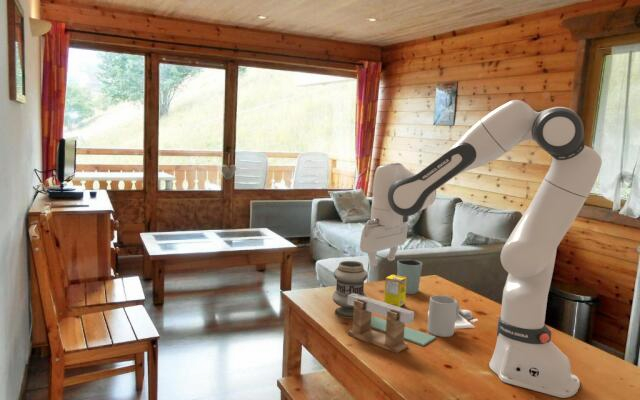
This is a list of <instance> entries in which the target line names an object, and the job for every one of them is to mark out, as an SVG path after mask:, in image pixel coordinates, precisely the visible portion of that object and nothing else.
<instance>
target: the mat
mask: <svg viewBox="0 0 640 400" xmlns="http://www.w3.org/2000/svg"><path fill="white" fill-rule="evenodd" d="M386 321H387V319H384V318H381V317H378V316H375V315H371V329H374V330H377V331H379V332H383V333H384V334H386ZM404 340H405V341H408V342H410V343H413V344H416V345H419V346H421V347H424V346H426V345H427V344H429V343H431V342H433V341H434V340H436V335H433V334H429V333H426V332H422V331H419V330H416V329H414V328H411V327H407V326H405V328H404Z"/></svg>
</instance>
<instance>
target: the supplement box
mask: <svg viewBox="0 0 640 400" xmlns="http://www.w3.org/2000/svg"><path fill="white" fill-rule="evenodd" d="M406 280H407V277H402V276H398V275H396V274H391V275H389V276H387V277H385V284H384V285H385V286H384V300H383V302H384V303H387V304H391V305H394V306H397V307H401V308H404V307H405V305H406Z"/></svg>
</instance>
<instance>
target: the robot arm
mask: <svg viewBox="0 0 640 400" xmlns="http://www.w3.org/2000/svg"><path fill="white" fill-rule="evenodd" d="M526 141H533V142H536V144H537V145H538V146H539V147H540V148H541V149H543V151H545V152H546V153H548V154H549V155H550V156H551V158H552V160H551V161H552V162H551V164H550V167H549V169H548V170H547V172H546V175H545V176H544V178H543V179H542V182H541V183H540V185H539V187H538V189H537V191H536V193H535V195H534V196H533V198H532V200H531V202H530V204H528V207H527V209H526V211H524V213H523V215H522V216H521V218H520V219H519V220H518V222H517V224H516V225H515V227H514V228H513V230H512V232H511V233H510V235H509V237H508V238H507V240H506V242H505V243H504V245H503V247H502V249H501V252H500V262H501V265H502V268H503V269H504V271H506V272H507V273H508V274H507V276H506V281H505V284H504V287H503V290H502V299H501V300H502V301H501V310H500V316H499V317H498V321H497V328H496V336H497V339H496V342H495V343H496V344H495V348H494V349H493V350H494V351H493V354H492V356H491V359H490V361H489V365H488V366H489V368H490V370H492V372H494V373H495V374H496V375H497V376H498V378H499V379H500V381H501V382H503V383H506V384H509V385H514V386H517V387H520V388H525V389H528V390H531V391H535V392H539V393H543V394H546V395H549V396H554V397H557V398H560V399H565V398H566V399H567V398H570V397H573V396H574V395H575V394H577V392H578V391H579V390H580V386H581V385H580V382H581V381H580V379H579V378H578V376H577V375H575V374H574V373H573V374H572V367H571V361H570V359H569V358H568V357H569V356H567V355H566V354H565V353H563V351H562V350H561V349H560V348H559V347H558V346H557V345H555V344H554V343H553V342H552V340H551V339H552V334H553V328H550V329H549V328H548V327H547V326H546V324H545V321H546V313H547V312H546V311H547V303H548V297H549V296H548V295H549V292H550V288H551V283H552V278H553V273H554V268H555V263H556V256H557V252H558V251H557V249H558V246H559V245H560V243H561V242H562V241H563V239H564V237H565V235H566V234H567V233H568V231H569V230H570V228H571V226H572V225H573V223H574V222H575V219H576V218H577V217H578V214H579V213H580V211H581V209H582V207H583V206H584V204H585V202H586V201H587V199H588V197H589V196H590V194H591V192H592V190H593V188H594V185H595V184H596V182H597V179H598V176H599V173H600V170H601V167H602V158H601V155H599V153H598V152H597V151H596V150H595V149H593V148H591V147H589V146H587V145H585V128H584V123H583V120H582V118H581V117H580V116H579V115H578V113H576V112H575V110H572V109H571V108H568V107H564V106H554V107H549V108H546V109H541V110H534V109H533V108H532V107H531V105H529V104H528V103H527V102H524V101H523V100H520V99H511V100H510V101H508V102H506V103H504V104H502V105H500V106H498V107H497V108H495V109H493V110H492V111H490V112H489V113H487V114H486V115H485V116H483V117H482V118H480V119H479V120H478V121H477V122H476V123H474V124H473V125H472V126H471V127H470V128H468V129H467V131H465V132H464V134H463V135H461V137H460V138H459V139H458V140H457V141H456V142H455V143H454V144H453V145H452V146H451V147H450V148H449V149H448V150H446V152H444V153H443V154H442V155H441V156H440V157H438V158H437V159H436V160H434V161H433V162H431V163H430V164H428V166H426V167H424V168H422V170H420V171H419V172H418V173H414V172H412V171H411V170H409V169H408V168H406V167H405V166H404V165H403V164H402V163H400V162H394V163H384V164H380V165H379V166H377V168H376V169H375V172H374V176H373V182H372V184H373V185H372V196H373V197H372V198H373V199H372V203H371V210H370V211H371V212H370V220H368V221H367V222H366V224H364V226H363V229H362V231H361V236H360V243H359V250H360V251H361V252H362V253H366V254H367V256H368V259H369V266H370V267H377V266H378V261H379V260H378V259H377V257H376V256H377V255H378V254H377V253H378V252H380V251H384V250H388V249H389V253H388V254H387V258H386V259H387V261H390V262H392V261H395V259H396V254H397V251H398V249H399V246H402V245H403V246H404V245H405V243H406V241H407V236H408V223H409V221H410V216H414V215H416V214H417V213H419V212H421V211H423V210H425V209H427V208H428V207H430V206H431V205H432V204H433V203H434V202H435V200H436V197H437V190H438V189H439V188H441V187H442V186H444V185H445V184H446V183H447V182H449V181H450V180H452V179H453V178H455V177H456V176H458V175H460V174H462V173H464V172H468V171H469V170H474V169H478V168H481V167H483V166H486V165H488V164H490V163H492V162H494V161H495V160H498V159H499V158H501V157H503V156H504V155H505V154H507V153H508V152H509V151H511V150H512V149H513V148H515V147H516V146H518V145H519V144H521V143H524V142H526ZM578 389H579V390H578Z"/></svg>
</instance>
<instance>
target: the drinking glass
mask: <svg viewBox="0 0 640 400" xmlns="http://www.w3.org/2000/svg"><path fill="white" fill-rule="evenodd" d="M396 265H397V268H396V269H397V273H396V274H397V275H398V276H402V277H407V280H406V294H408V295H414V294H418V293H419V290H420V289H419V288H420V282H421V275H422V269H423V262H422V261H420V260H416V259H411V258H409V259H407V258H406V259H405V258H403V259H402V258H401V259H398V260H397V264H396Z"/></svg>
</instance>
